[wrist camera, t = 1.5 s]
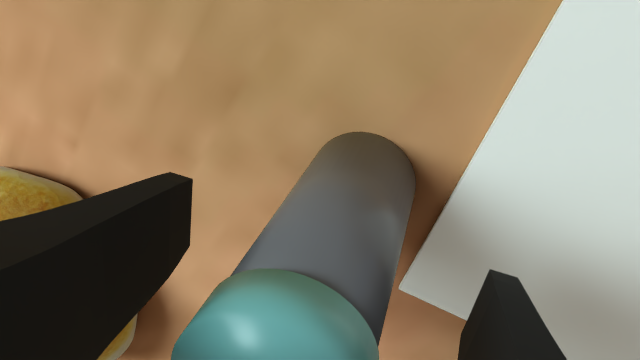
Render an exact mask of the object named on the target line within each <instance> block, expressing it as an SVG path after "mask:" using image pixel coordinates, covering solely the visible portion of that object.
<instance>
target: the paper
mask: <svg viewBox="0 0 640 360" xmlns="http://www.w3.org/2000/svg"><path fill="white" fill-rule="evenodd" d="M489 269H491V270H495V271H498V272H501V273H505V274H508V275H511V276H515V277H518V279H519V280H520V282H521V284H522V285H523V287H524V289H525V290H526V292H527V294H528V296H529V297H530V299H531V301H532V303H533V305H534V306H535V308H536V310H537V311H538V313H539V315H540V317H541V318H542V320H543V322H544V323H545V325H546V327H547V328H548V330H549V332H550V333H551V335H552V337H553V338H554V340H555V341H556V343H557V345H558V346H559V348H560V349H561V351H562V353H563V354H564V356H565V357H566V359H567V360H640V0H563V1H562V3H561V4H560V6H559V8H558V10H557V11H556V13H555V15H554V17H553V18H552V20H551V22H550V24H549V25H548V27H547V29H546V31H545V32H544V34H543V36H542V38H541V39H540V41H539V43H538V44H537V46H536V48H535V50H534V51H533V53H532V55H531V57H530V58H529V60H528V62H527V64H526V65H525V67H524V69H523V71H522V72H521V74H520V76H519V78H518V79H517V81H516V83H515V85H514V86H513V88H512V90H511V92H510V93H509V95H508V97H507V98H506V100H505V102H504V104H503V105H502V107H501V109H500V111H499V112H498V114H497V116H496V118H495V119H494V121H493V123H492V125H491V126H490V128H489V130H488V132H487V133H486V135H485V137H484V139H483V140H482V142H481V144H480V146H479V147H478V149H477V151H476V152H475V154H474V156H473V158H472V159H471V161H470V163H469V165H468V166H467V168H466V170H465V172H464V173H463V175H462V177H461V179H460V180H459V182H458V184H457V186H456V187H455V189H454V191H453V193H452V194H451V196H450V198H449V200H448V201H447V203H446V205H445V206H444V208H443V210H442V212H441V213H440V215H439V217H438V219H437V220H436V222H435V224H434V226H433V227H432V229H431V231H430V233H429V234H428V236H427V238H426V240H425V241H424V243H423V245H422V247H421V248H420V250H419V252H418V254H417V255H416V257H415V259H414V260H413V262H412V264H411V266H410V267H409V269H408V271H407V273H406V274H405V276H404V278H403V280H402V281H401V283H400V285H399V290H402V291H404V292H406V293H408V294H410V295H412V296H415V297H417V298H419V299H421V300H423V301H425V302H428V303H430V304H432V305H434V306H436V307H438V308H440V309H443V310H445V311H447V312H449V313H451V314H453V315H456V316H458V317H460V318H462V319H464V320H466V321H467V320H468V317H469V315H470V313H471V311H472V308H473V306H474V304H475V301H476V299H477V297H478V295H479V292H480V290H481V288H482V285H483V283H484V281H485V279H486V276H487V274H488V272H489Z"/></svg>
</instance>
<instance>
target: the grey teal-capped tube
mask: <svg viewBox="0 0 640 360" xmlns="http://www.w3.org/2000/svg"><path fill="white" fill-rule="evenodd" d="M415 190H416V178H415V173H414V170H413V167H412V165H411V163H410V161H409V159H408V158H407V156H406V155H405V154H404V152H403V151H402V150H401V149H400V148H399V147H398V146H396V145H395V144H394V143H392V142H391V141H389V140H388V139H386V138H384V137H381V136H379V135H376V134H372V133H366V132H351V133H346V134H342V135H340V136H337V137H335V138H333V139H332V140H330V141H329V142H328V143H326V144H325V145H324V146H323V147H322V148H321V150H320V151H319V152H318V154H317V155H316V157H315V158H314V159H313V161H312V162H311V164H310V165H309V166H308V168H307V169H306V171H305V172H304V173H303V175H302V176H301V178H300V179H299V180H298V182H297V183H296V185H295V186H294V187H293V189H292V190H291V192H290V193H289V194H288V196H287V197H286V199H285V200H284V201H283V203H282V204H281V206H280V207H279V208H278V210H277V211H276V213H275V214H274V215H273V217H272V218H271V220H270V221H269V223H268V224H267V225H266V227H265V228H264V230H263V231H262V232H261V234H260V235H259V237H258V238H257V239H256V241H255V242H254V244H253V245H252V246H251V248H250V249H249V251H248V252H247V253H246V255H245V256H244V258H243V259H242V260H241V262H240V263H239V265H238V266H237V267H236V269H235V270H234V272H233V273H232V274H231V276H230V277H228V278H227V279H225V280H224V281H223V282H221V283H220V284H219V285H218V286H217V287H216V288H215V289H214V290H213V292H212V293H211V294H210V296H209V297H208V298H207V300H206V301H205V303H204V304H203V305H202V307H201V308H200V309H199V311H198V312H197V314H196V315H195V316H194V318H193V319H192V320H191V322H190V323H189V324H188V326H187V327H186V329H185V330H184V331H183V333H182V334H181V335H180V337H179V338H178V340H177V342H176V343H175V345H174V348H173V351H172V356H171V360H379V351H378V345H379V341H380V337H381V333H382V328H383V324H384V320H385V316H386V312H387V308H388V303H389V299H390V295H391V291H392V287H393V283H394V278H395V274H396V270H397V266H398V262H399V258H400V253H401V249H402V245H403V241H404V237H405V232H406V228H407V224H408V220H409V216H410V212H411V207H412V203H413V199H414V195H415Z"/></svg>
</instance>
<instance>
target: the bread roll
mask: <svg viewBox="0 0 640 360" xmlns="http://www.w3.org/2000/svg"><path fill="white" fill-rule="evenodd" d="M80 200H83V198H82V197H81V196H80V195H79V194H77V193H76V192H75V191H74V190H72V189H71V188H68V187H66V186H64V185H62V184H60V183H57V182H54V181H51V180H48V179H45V178H42V177H38V176H35V175H32V174H28V173H25V172H21V171H18V170H15V169H12V168H7V167H0V221H2V220H7V219H12V218H16V217H21V216H25V215H29V214H34V213H38V212H42V211H45V210H49V209H52V208H56V207H59V206H63V205H66V204H70V203H73V202H76V201H80ZM136 322H137V314H136V315H135V316H134V318H133V319H132V320H131V321H130V322H129V323H128V324H127V325H126V326H125V328H124V329H123V330H122V331H121V332H120V333H119V334H118V335H117V337H116V338H115V339H114V340H113V341H112V342H111V343H110V344H109V346H108V347H107V348H106V349H105V350H104V352H103V353H102V354H101V355H100V357H99V358H98V359H97V360H116V359H117V358H119V357H120V356H121V355H122V354H123V353H124V352H125V351H126V350H127V348H128V347H129V346H130V344H131V342H132V340H133V338H134V333H135V328H136Z"/></svg>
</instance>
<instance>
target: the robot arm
mask: <svg viewBox="0 0 640 360" xmlns="http://www.w3.org/2000/svg"><path fill="white" fill-rule="evenodd" d="M192 183H193V179H191V178H188V177H184V176H181V175H178V174H175V173H171V172H169V173H165V174H161V175H157V176H154V177H151V178H148V179H145V180H142V181H139V182H136V183H133V184H130V185H127V186H124V187H121V188H118V189H115V190H111V191H108V192H105V193H102V194H99V195H96V196H93V197H90V198H87V199H83V200H80V201H76V202H73V203H70V204H66V205H63V206H59V207H56V208H52V209H49V210H45V211H42V212H38V213H34V214H29V215H25V216H21V217H16V218H12V219H7V220H2V221H0V360H97V359H98V358H99V357H100V355H101V354H102V353H103V352H104V350H105V349H106V348H107V347H108V346H109V344H110V343H111V342H112V341H113V340H114V339H115V338H116V337H117V335H118V334H119V333H120V332H121V331H122V330H123V329H124V328H125V326H126V325H127V324H128V323H129V322H130V321H131V320H132V319H133V318H134V316H135V315H136V314H137V313H138V312H139V311H140V310H141V309H142V307H143V306H144V305H145V304H146V303H147V302H148V301H149V300H150V298H151V297H152V296H153V295H154V294H155V293H156V292H157V291H158V289H159V288H160V287H161V286H162V285H163V284H164V282H165V281H166V280H167V279H168V278H169V276H170V275H171V273H172V272H173V271H174V269H175V268H176V266H177V265H178V263H179V262H180V260H181V259H182V257H183V255H184V254H185V252H186V251H187V249H188V248H189V246H190V229H191V206H192ZM458 360H567V359H566V357H565V356H564V354H563V353H562V351H561V349H560V348H559V346H558V345H557V343H556V341H555V340H554V338H553V337H552V335H551V333H550V332H549V330H548V328H547V327H546V325H545V323H544V322H543V320H542V318H541V317H540V315H539V313H538V311H537V310H536V308H535V306H534V305H533V303H532V301H531V299H530V297H529V296H528V294H527V292H526V290H525V289H524V287H523V285H522V284H521V282H520V280H519V279H518V277H515V276H511V275H508V274H505V273H501V272H498V271H495V270H491V269H489V272H488V274H487V276H486V279H485V281H484V283H483V285H482V288H481V290H480V292H479V295H478V297H477V299H476V301H475V304H474V306H473V308H472V311H471V313H470V315H469V317H468V320H467V322H466V324H465V327H464V329H463V331H462V333H461V338H460V346H459V354H458Z"/></svg>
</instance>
